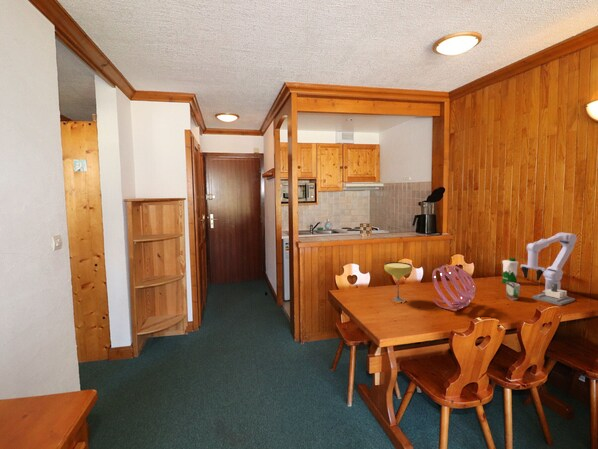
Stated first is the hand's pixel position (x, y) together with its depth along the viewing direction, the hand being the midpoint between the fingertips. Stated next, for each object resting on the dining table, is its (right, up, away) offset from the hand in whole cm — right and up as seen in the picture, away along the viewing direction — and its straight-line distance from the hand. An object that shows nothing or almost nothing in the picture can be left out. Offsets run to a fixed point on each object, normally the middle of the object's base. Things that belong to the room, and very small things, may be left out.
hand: (531, 279), depth 220 cm
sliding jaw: (+6, -9, -12) cm, 16 cm away
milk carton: (+2, -8, +26) cm, 28 cm away
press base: (+5, -12, -12) cm, 18 cm away
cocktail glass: (-97, -14, -7) cm, 99 cm away
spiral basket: (-67, -14, -22) cm, 72 cm away
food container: (-18, -12, -9) cm, 23 cm away
